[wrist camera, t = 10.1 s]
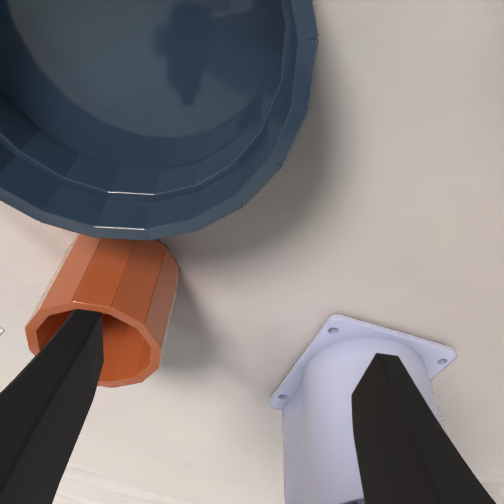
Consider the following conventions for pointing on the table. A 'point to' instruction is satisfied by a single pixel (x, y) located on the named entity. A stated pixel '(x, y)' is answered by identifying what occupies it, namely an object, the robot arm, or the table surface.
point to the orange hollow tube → (113, 302)
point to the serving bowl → (148, 109)
